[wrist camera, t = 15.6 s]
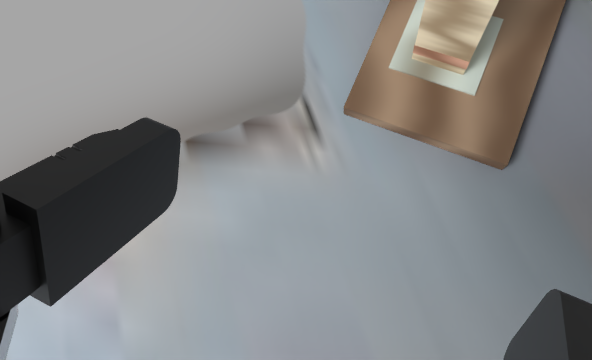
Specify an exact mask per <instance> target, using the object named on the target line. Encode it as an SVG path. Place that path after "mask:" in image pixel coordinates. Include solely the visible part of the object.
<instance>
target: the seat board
mask: <svg viewBox="0 0 592 360" xmlns="http://www.w3.org/2000/svg"><path fill="white" fill-rule="evenodd" d="M565 1H566V0H499V2H498V4H497V6H496V8H495V10H494V12H493V14H492V16H491V18H490V20H489V22H488V24H487V27H486V29H485V31H484V33H483V35H482V37H481V39H480V41H479V43H478V45H477V47H476V49H475V51H474V54H473V56H472V58H471V60H470V63H469V65H468V67H467V69H466V70H465V72H464V74H463V75H461V74H458V73H455V72H452V71H449V70H446V69H442V68H439V67H436V66H433V65H430V64H427V63H423V62H420V61H417V60H414V59H412V55H413V49H414V45H415V42H416V38H417V34H418V29H419V25H420V21H421V17H422V12H423V8H424V4H425V0H390V2H389V5H388V7H387V9H386V11H385V14H384V16H383V18H382V21H381V23H380V25H379V28H378V30H377V32H376V34H375V37H374V39H373V41H372V44H371V46H370V48H369V50H368V53H367V55H366V57H365V60H364V62H363V64H362V66H361V69H360V71H359V73H358V76H357V78H356V80H355V82H354V85H353V87H352V89H351V92H350V94H349V96H348V99H347V101H346V103H345V105H344V114H345V115H348V116H351V117H354V118H357V119H360V120H362V121H365V122H368V123H371V124H374V125H376V126H379V127H382V128H385V129H388V130H391V131H393V132H396V133H399V134H402V135H405V136H407V137H410V138H413V139H416V140H419V141H422V142H424V143H427V144H430V145H433V146H436V147H439V148H441V149H444V150H447V151H450V152H453V153H455V154H458V155H461V156H464V157H467V158H470V159H472V160H475V161H478V162H481V163H484V164H486V165H489V166H492V167H495V168H498V169H501V170H502V169H504V168H505V167H506V166H507V165H508V163H509V160H510V157H511V154H512V151H513V148H514V146H515V143H516V140H517V137H518V134H519V132H520V129H521V126H522V123H523V120H524V117H525V115H526V112H527V109H528V106H529V103H530V100H531V98H532V95H533V92H534V89H535V86H536V83H537V81H538V78H539V75H540V72H541V69H542V66H543V64H544V61H545V58H546V55H547V52H548V49H549V47H550V44H551V41H552V38H553V35H554V32H555V30H556V27H557V24H558V21H559V18H560V15H561V13H562V10H563V7H564V4H565Z"/></svg>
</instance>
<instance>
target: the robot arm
mask: <svg viewBox="0 0 592 360" xmlns="http://www.w3.org/2000/svg"><path fill="white" fill-rule="evenodd" d="M179 155H180V134H179V132H178V131H177V130H176V129H173V128H171V127H169V126H166V125H164V124H161V123H159V122H157V121H154V120H152V119H149V118H142V119H140V120H138V121H136V122H134V123H132V124H130V125H128V126H127V127H124V128H123V129H121V130H118V129H116V130H112V131H107V132H102V133H98V134H94V135H91V136H89V137H87V138H85V139H83V140H81V141H79V142H77V143H75V144H73V146H72V147H71V148H70V147H68V148H65V149H64V150H61V151H59V152H57V153H56V155H55V156H50V157H48V158H46V159H44V160H42V161H40V162H38V163H36V164H34V165H32V166H30V167H28V168H26V169H24V170H22V171H20V172H18V173H16V174H14V175H12V176H10V177H8V178H6V179H4V180H2V181H0V360H5V359H6V356H7V352H8V348H9V345H10V341H11V338H12V334H13V331H14V327H15V323H16V320H17V316H18V305H17V304H19V303H20V302H21V301H22V300H24V299H25V298H26V297H28V296H29V295H31V296H32V297H34V298H36V299H38V300H40V301H41V302H43V303H45V304H47V305H49V306H50V307H51V306H52V305H53V304H54V303H56V302H57V301H58V300H59V299H60V298H62V297H63V296H64V295H65V294H66V293H68V292H69V291H70V290H71V289H72V288H74V287H75V286H76V285H77V284H78V283H80V282H81V281H82V280H83V279H84V278H86V277H87V276H88V275H89V274H90V273H92V272H93V271H94V270H95V269H96V268H98V267H99V266H100V265H101V264H102V263H104V262H105V261H106V260H107V259H108V258H110V257H111V256H112V255H113V254H114V253H116V252H117V251H118V250H119V249H121V248H122V247H123V246H124V245H125V244H127V243H128V242H129V241H130V240H131V239H133V238H134V237H135V236H136V235H137V234H139V233H140V232H141V231H142V230H143V229H145V228H146V227H147V226H148V225H149V224H151V223H152V222H153V221H154V220H155V219H157V218H158V217H159V216H160V215H161V214H163V213H164V212H165V211H166V210H167V208H168V207H169V206H170V204H171V203H172V201H173V199H174V196H175V194H176V190H177V182H178V168H179ZM503 360H592V304H591V303H588V302H586V301H583V300H581V299H579V298H576V297H574V296H571V295H569V294H567V293H564V292H562V291H559V290H557V289H553V290H551V291H549V292H548V293H547V294H546V295H545V297H544V298H543V299H542V301H541V302H540V303H539V305H538V306H537V307H536V308H535V310H534V311H533V312H532V314H531V315H530V316H529V318H528V319H527V320H526V322H525V323H524V324H523V326H522V327H521V328H520V330H519V331H518V332H517V334H516V335H515V336H514V338H513V339H512V340H511V342H510V344H509V346H508V348H507V350H506V353H505V356H504V359H503Z"/></svg>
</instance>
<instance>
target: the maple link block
mask: <svg viewBox="0 0 592 360" xmlns="http://www.w3.org/2000/svg"><path fill="white" fill-rule="evenodd" d="M498 2H499V0H425V4H424V8H423V12H422V17H421V21H420V25H419V29H418V34H417V38H416V42H415V45H414V49H413V55H412V59H414V60H417V61H420V62H423V63H427V64H430V65H433V66H436V67H439V68H442V69H446V70H449V71H452V72H455V73H458V74H461V75H463V74H464V72H465V70H466V69H467V67H468V65H469V63H470V60H471V58H472V56H473V54H474V51H475V49H476V47H477V45H478V43H479V41H480V39H481V37H482V35H483V33H484V31H485V29H486V27H487V24H488V22H489V20H490V18H491V16H492V14H493V12H494V10H495V8H496V6H497V4H498Z"/></svg>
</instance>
